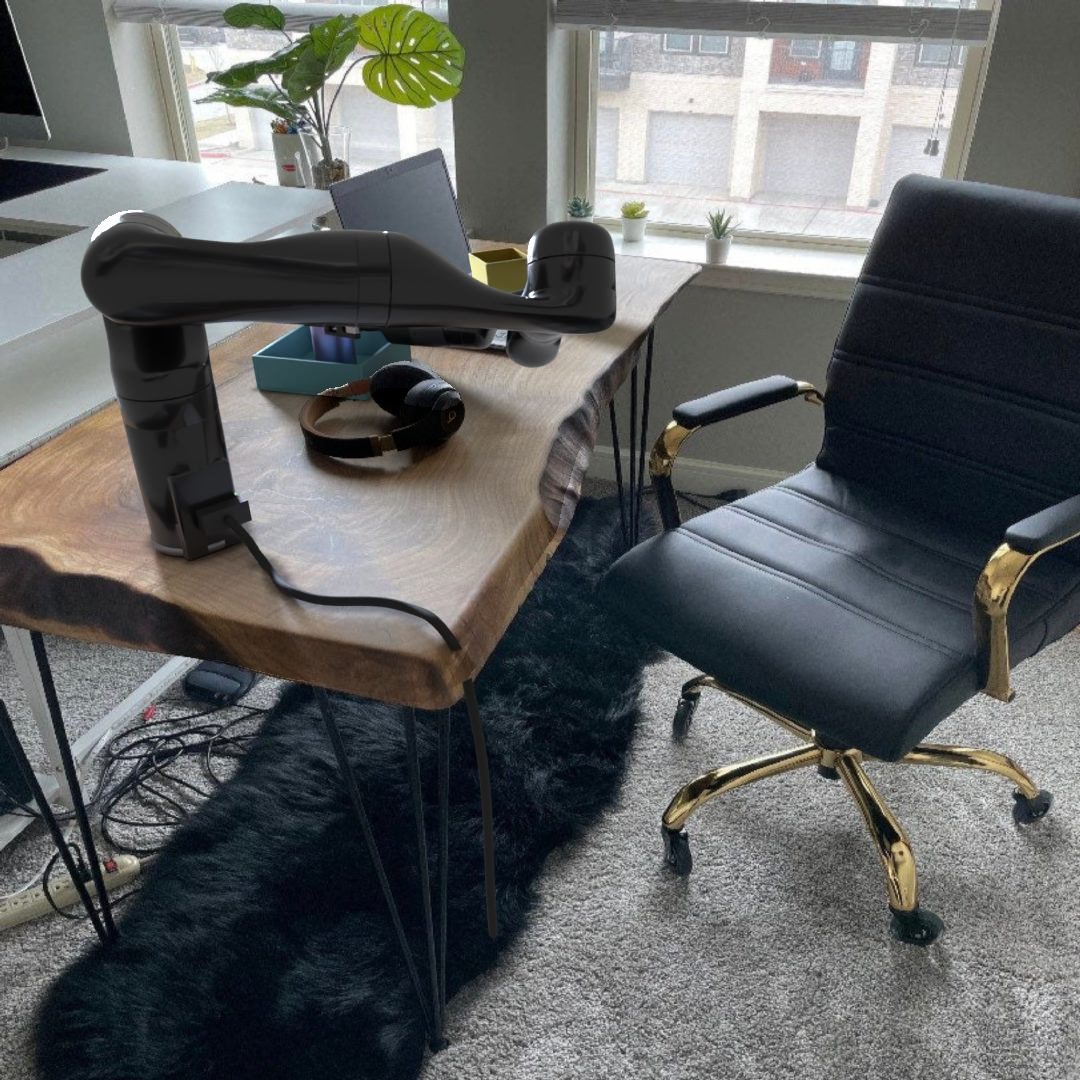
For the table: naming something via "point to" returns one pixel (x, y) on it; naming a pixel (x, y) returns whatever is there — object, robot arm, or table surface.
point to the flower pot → (500, 268)
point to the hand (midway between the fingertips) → (313, 310)
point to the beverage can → (332, 347)
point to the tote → (321, 363)
